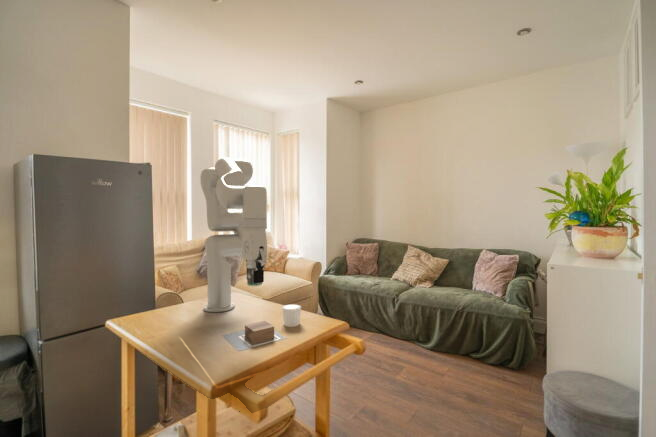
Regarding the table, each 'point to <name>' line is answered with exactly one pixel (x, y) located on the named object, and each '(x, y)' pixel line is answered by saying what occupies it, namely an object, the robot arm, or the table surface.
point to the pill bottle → (251, 274)
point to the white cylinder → (291, 315)
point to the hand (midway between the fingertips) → (255, 280)
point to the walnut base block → (259, 332)
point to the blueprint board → (243, 343)
